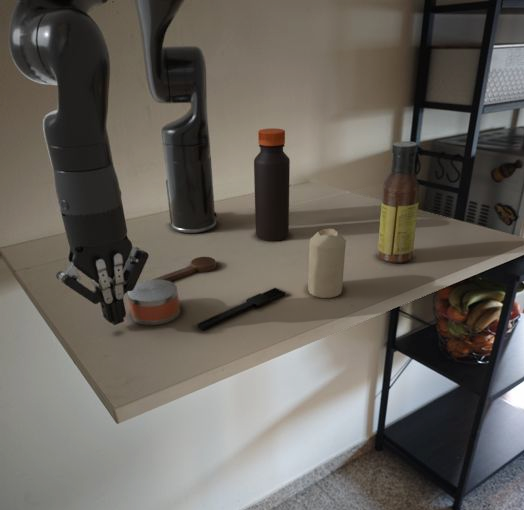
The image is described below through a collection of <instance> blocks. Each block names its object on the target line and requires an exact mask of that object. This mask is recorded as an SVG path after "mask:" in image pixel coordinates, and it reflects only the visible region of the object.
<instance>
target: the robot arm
mask: <svg viewBox="0 0 524 510" xmlns="http://www.w3.org/2000/svg"><path fill="white" fill-rule="evenodd" d="M108 1H109V0H18V1H17V2H16V5H15V7H14V9H13V11H12V14H11V17H10V21H9V26H8V48H9V51H10V56H11V58H12V60H13V62H14V65H15V66H16V68H17V69H18V71H19V72H20V73H21V74H22V75H23V76H24V77H25V78H27V79H29V80H30V81H33V82H35V83H37V84H41V85H50V86H57V109H55V110H53V111H49V112H48V113H47V114H46V115H45V116H44V118H43V120H42V129H43V136H44V141H45V144H46V149H47V153H48V156H49V161H50V164H51V168H52V175H53V183H54V190H55V194H56V199H57V202H58V207H59V211H60V215H61V219H62V223H63V227H64V231H65V236H66V239H67V243H68V246H69V254H68V261H69V263H68V264H67V266H66V267H65V268H64V269H63V270H59V271H57V272H56V275H55V277H56V279H57V280H59V281H60V282H61V283H62V284H64V285H65V286H66V287H68V288H70V289H71V290H73V291H74V292H76V293H77V294H78V295H80V296H81V297H83V298H84V299H86V300H87V301H88V302H91V303H93V304H94V305H98V304H99V303H100V308H101V311H102V317H103V318H104V319H105V320H106V321H107V322H108V323H110V324H111V325H114V326H116V325H119V324H122V323H124V322H125V318H126V316H127V311H126V306H125V302H124V301H125V300H124V297H125V294H128V291H132V290H133V289H134V288H135V285H136V284H137V283H138V281H139V280H140V276H141V274H142V272H143V271H144V269H145V266H146V264H147V261H148V259H149V257H150V256H149V253H148V252H147V251H146V250H143V249H141V248H139V247H137V246H136V247H135V246H133V243H132V241H131V240H130V239H129V237H128V228H127V222H126V216H125V212H124V211H125V210H124V206H123V199H122V190H121V188H120V184H119V179H118V175H117V172H116V170H115V165H114V161H113V155H112V148H111V144H110V143H111V142H110V139H109V138H110V137H109V133H108V130H107V129H108V128H107V120H108V113H109V98H110V97H109V96H110V95H109V94H110V79H111V78H110V77H111V62H110V55H109V54H110V53H109V48H108V45H107V42H106V39H105V36H104V34H103V33H102V31H101V29H100V27H99V25H98V24H97V23H96V21H95V20H94V18H93V17H91V16H90V15H89V13H91V12H92V11H95V10H97V9H99V8H101V7H102V6H104V5H106V4H107V2H108ZM185 2H186V0H134V5H135V8H136V14H137V19H138V23H139V30H140V39H141V46H142V54H143V62H144V69H145V77H146V82H147V87H148V91H149V93H150V96H151V97H152V99H153V100H154V101H155V103H158V104H163V105H171V104H172V105H173V104H174V105H175V104H190V108H189V110H188V111H187V112H186V113H185V114H183V116H181V117H180V118H177V119H175V120H173V121H171V122H169V123H166V124H165V125H164V126H162V128H161V140H162V149H163V156H164V165H165V172H166V180H165V187H166V197H167V205H168V211H169V212H168V213H169V220H170V225H171V227H172V229H173V230H174V231H176V232H178V233H185V234H198V233H199V234H200V233H204V232H207V231H210V230H212V229H214V228H216V226H217V220H216V218H217V212H216V210H215V195H214V181H213V167H212V153H211V139H210V129H209V128H210V127H209V119H208V91H207V89H208V88H207V83H208V82H207V65H206V59H205V55H204V52H203V50H202V49H201V48H200V47H199V46H196V45H177V46H176V45H174V46H173V45H172V46H171V45H169V46H164V42H165V39H166V36H167V33H168V30H169V28H170V27H171V25H172V23H173V22H174V20H175V19H176V18H177V16H178V14H179V13H180V10H181V9H182V7H183V5H184V4H185ZM78 271H79V272H80V273H82V274H83V275H85V276H86V277H87V278H89V279H90V282H91V284H92V286H93V287H94V290H91V289H89V288H88V287H87V286H85V285H83V284H82V283H81V276H80V274H79V273H78Z"/></svg>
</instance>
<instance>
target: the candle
mask: <svg viewBox="0 0 524 510" xmlns="http://www.w3.org/2000/svg"><path fill="white" fill-rule="evenodd" d="M346 246H347V241H346V239H345V238H344V236H343V235H342V234H340V233H339V232H338V231H337V230H336V229H334V228H323V229H321V230H320V231H318V230H317V232H316V233H315V234H314V235H312V236H311V238H310V239H309V251H308V252H309V253H308V278H307V279H308V280H307V288H308V293H309V294H310V295H311V296H314V297H317V298H321V299H331V298H335V297H337V296H340V295H341V294H342V291H343V283H344V271H345V257H346Z"/></svg>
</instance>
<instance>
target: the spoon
mask: <svg viewBox="0 0 524 510" xmlns="http://www.w3.org/2000/svg"><path fill="white" fill-rule="evenodd" d="M216 268H217V264H216V259H215V258H213V257H210V256H198V257H196V258H193V259H192V260H191V261H190V265H189V266H186V267H184V268H183V267H182V268H181V269H178V270H175V271H172V272H169V273H166V274H164V275H161V276H158V277H155V278H152V279H151V280H167V281H170V282H172V281H175V280H178V279H181V278H184V277H186V276H189V275H191V274H194V273H197V272H198V273H207V272H211V271H213V270H215V269H216Z"/></svg>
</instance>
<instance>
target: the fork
mask: <svg viewBox="0 0 524 510" xmlns="http://www.w3.org/2000/svg"><path fill="white" fill-rule="evenodd" d="M285 296H286V291H283V290H281V289H279V288H277V287H273V288H271V289H269V290H267V291H265V292H262V293H258V294H255V295H253V296H251V297H248V298H246V301H245V302H242V303H241V304H239V305H237V306H234V307H231V308H229V309H228V310H225V311H223V312H220V313H219V314H216V315H214V316H211V317H209V318H207V319H204V320H203V321H200V322H198V323H197V324H196V325H197V328H198V329H199V330H201V331H202V332H203V331H206V330H208V329H210V328H213V327H215V326H217V325H219V324H221V323H223V322H226V321H228V320H230V319H232V318H234V317H236V316H238V315H241V314H243V313H246V312H248V311H250V310H251V309H254V308H255V309H260V308H263V307H265V306H266V305H268V304H271V303H272V302H274V301H276V300H278V299H280V298H283V297H285Z"/></svg>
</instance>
